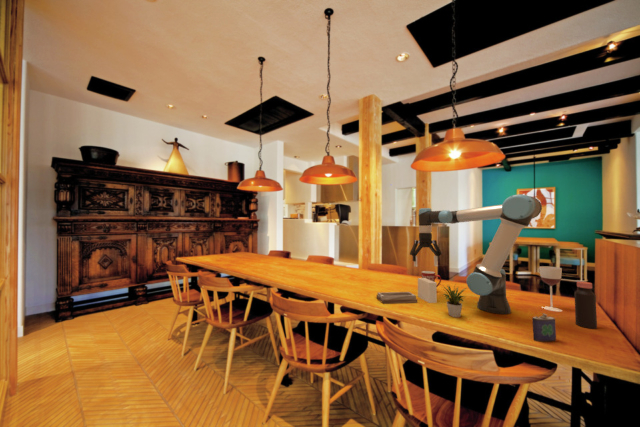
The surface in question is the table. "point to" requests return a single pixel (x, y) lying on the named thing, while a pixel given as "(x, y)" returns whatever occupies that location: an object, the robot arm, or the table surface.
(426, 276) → the mug
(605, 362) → the table surface
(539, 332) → the flask
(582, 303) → the bottle
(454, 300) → the house plant
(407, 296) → the grey wooden tray
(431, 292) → the beige rectangular block
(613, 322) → the table surface
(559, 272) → the wineglass
